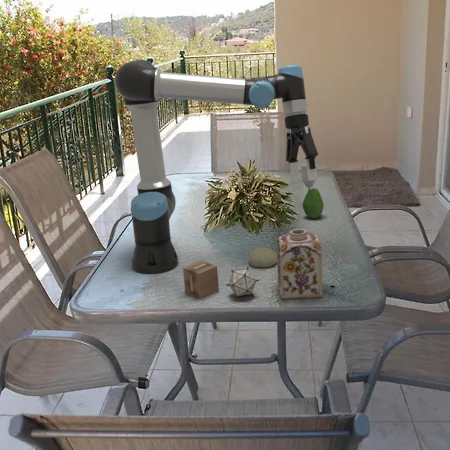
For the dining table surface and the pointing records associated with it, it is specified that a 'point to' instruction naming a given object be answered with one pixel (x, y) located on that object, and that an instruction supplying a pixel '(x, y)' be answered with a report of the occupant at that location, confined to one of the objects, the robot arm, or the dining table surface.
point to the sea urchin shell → (262, 257)
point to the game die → (242, 282)
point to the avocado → (313, 203)
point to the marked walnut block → (201, 279)
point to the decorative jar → (299, 265)
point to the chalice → (306, 176)
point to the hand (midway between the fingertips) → (304, 181)
